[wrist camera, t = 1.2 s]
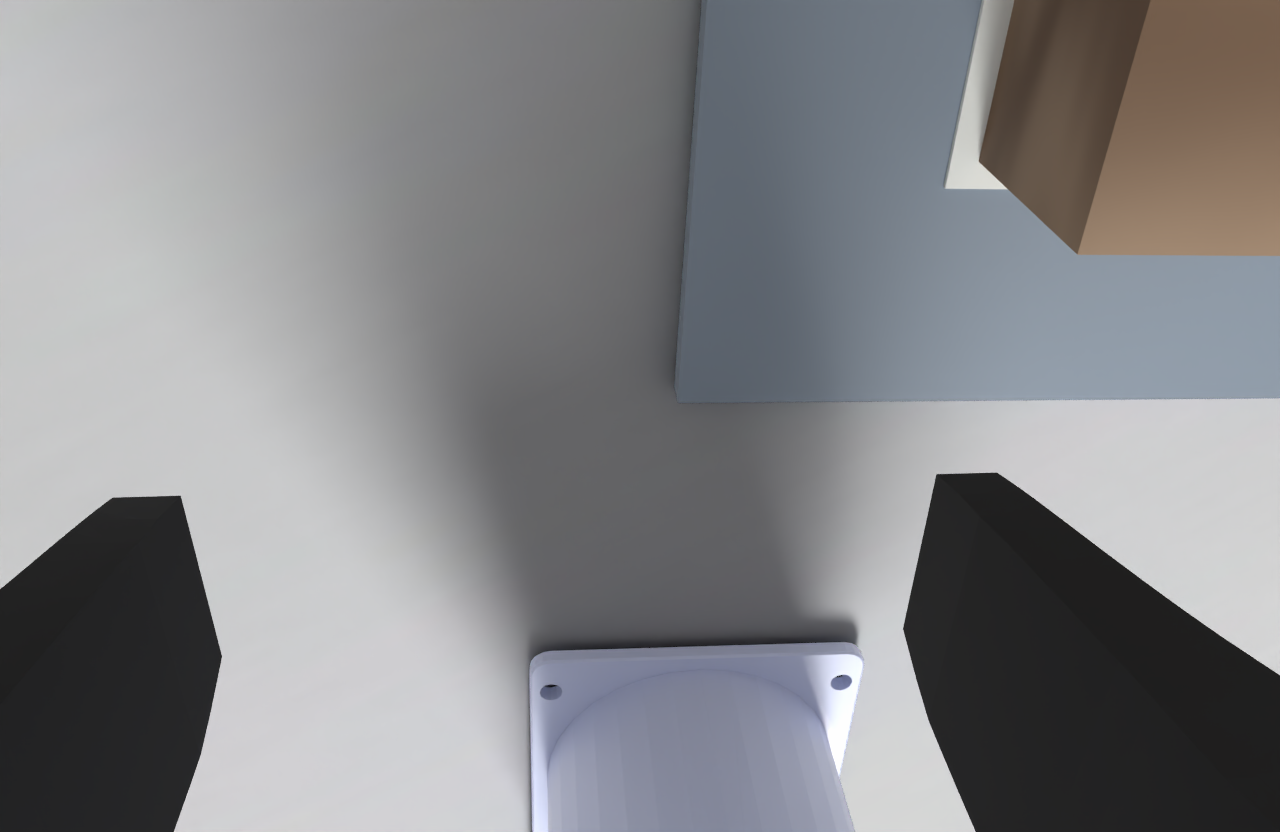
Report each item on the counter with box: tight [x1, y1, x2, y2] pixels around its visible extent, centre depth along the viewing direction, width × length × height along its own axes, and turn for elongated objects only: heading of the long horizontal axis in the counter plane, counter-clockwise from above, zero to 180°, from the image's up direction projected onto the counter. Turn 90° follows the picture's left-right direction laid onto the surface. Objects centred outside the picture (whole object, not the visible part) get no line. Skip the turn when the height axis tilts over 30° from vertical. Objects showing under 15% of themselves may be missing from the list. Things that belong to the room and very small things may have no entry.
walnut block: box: [979, 0, 1280, 256], centre depth 15 cm, size 6×6×4 cm
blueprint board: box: [674, 0, 1280, 403], centre depth 18 cm, size 14×16×1 cm
